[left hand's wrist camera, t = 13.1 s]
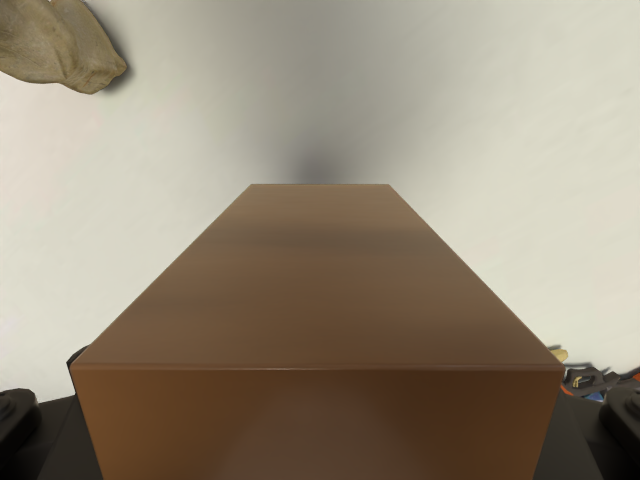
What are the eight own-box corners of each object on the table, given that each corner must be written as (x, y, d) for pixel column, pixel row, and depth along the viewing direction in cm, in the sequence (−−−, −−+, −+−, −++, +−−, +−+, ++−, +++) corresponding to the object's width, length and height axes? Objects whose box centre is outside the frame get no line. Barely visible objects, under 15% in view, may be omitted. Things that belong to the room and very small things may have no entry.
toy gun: (528, 367, 38) (538, 440, 40) (695, 325, 38) (696, 402, 40) (514, 354, 41) (523, 424, 43) (670, 315, 41) (671, 387, 43)
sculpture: (89, -13, 28) (-141, -143, 14) (147, 71, 30) (-3, 31, 16) (38, 28, 29) (-226, -55, 15) (97, 107, 31) (-86, 99, 17)
